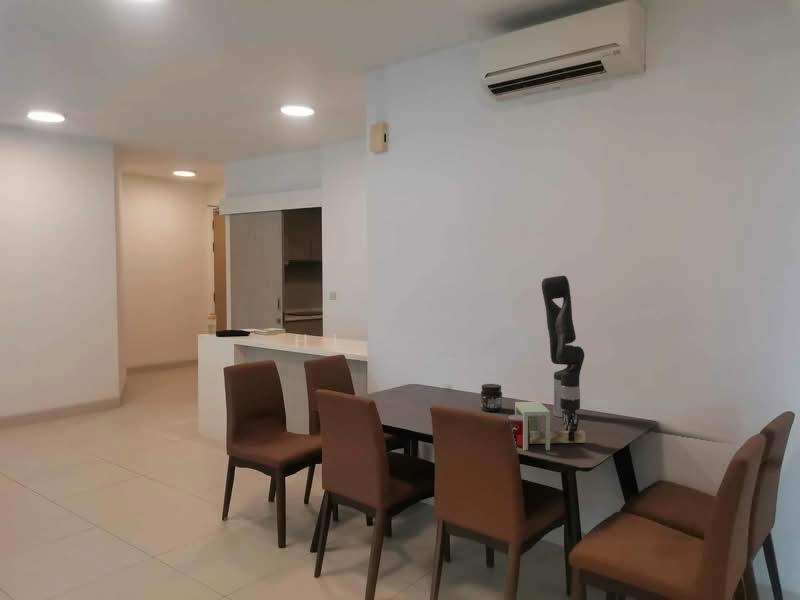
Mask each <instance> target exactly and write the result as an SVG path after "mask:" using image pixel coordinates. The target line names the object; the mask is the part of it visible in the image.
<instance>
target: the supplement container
mask: <svg viewBox="0 0 800 600" xmlns="http://www.w3.org/2000/svg"><path fill="white" fill-rule="evenodd" d="M502 409H503V391H502V385H500V384H498V383H485V384H484V383H483V384H482V385H481V391H480V410H482V411H483V410H484V411H483V412H486V411H492V412H491V413H497V412H496V411H498V412H501V411H502Z"/></svg>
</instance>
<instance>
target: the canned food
mask: <svg viewBox="0 0 800 600" xmlns="http://www.w3.org/2000/svg"><path fill="white" fill-rule="evenodd" d="M508 419H509V420H510V421H511V424H512V429H513V434H514V438H515V441H516V445H517V447H516V448H523V415H515V414H511V415H509V416H508ZM529 444H530V443H529V417H528V445H529Z"/></svg>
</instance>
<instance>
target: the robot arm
mask: <svg viewBox="0 0 800 600" xmlns="http://www.w3.org/2000/svg"><path fill="white" fill-rule="evenodd" d="M541 290H542V291H541V292H542V295H543V301H544V305H545V306H544V307H545V314H546V323H547V324H546V325H547V331H548V338H549V349H550V351H549V352H550V359H551V362H552V363H553V364H555V365H561V366H562V365H564V366H566V367H565V368H563V369H562V370H557V371H555V372H554V373H553V416H555V417H558V418H559V417H560V418H562V421H563V426H564V429H565V431H569V432H568V440H569V441H574V440H575V432H577V431H578V426H579V421H580V420H579V418H577V413H576V411H578V410H580V409H581V389H580V376H581V375H580V374H581V370H582V366H583V363H584V360H585V352H584V351H585V350H584V349H583V348H582V347H581V346H574V345H572V343H574V342H575V341H576V339H577V337H576V331H575V325H574V321H573V310H572V308H573V307H572V298H571V297H572V296H571V288H570V282H569V279H568V278H567V276H566V275H557V276H551V277H545V278H543V279H542V281H541ZM555 299H562V305H561V306H559V305H558V304H557V303H556V302H555V301H554V300H555ZM570 344H571V345H570Z"/></svg>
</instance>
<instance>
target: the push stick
mask: <svg viewBox="0 0 800 600" xmlns="http://www.w3.org/2000/svg"><path fill="white" fill-rule="evenodd" d="M568 432H569V431H566V430H550V444H574V443H575V444H576V443H578V444H580V443H583V444H585V443H586V432H585V431H584V430H582V429H581V430H577V432H575V440H574V441H569V440H568ZM529 444H531V445H533V444H535V445H536V444H545V430H540V431H529Z"/></svg>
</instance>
